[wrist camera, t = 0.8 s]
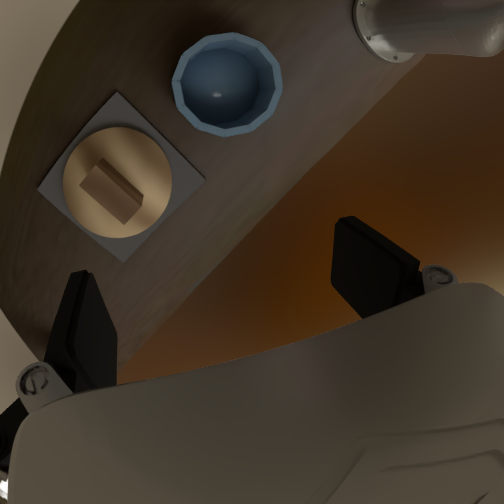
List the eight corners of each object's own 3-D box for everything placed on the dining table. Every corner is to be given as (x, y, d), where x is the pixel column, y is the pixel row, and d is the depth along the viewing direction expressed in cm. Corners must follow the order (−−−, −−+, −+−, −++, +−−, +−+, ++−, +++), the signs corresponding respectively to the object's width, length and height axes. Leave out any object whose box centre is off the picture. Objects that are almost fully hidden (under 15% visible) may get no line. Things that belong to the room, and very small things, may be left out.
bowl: (225, 27, 28) (237, 14, 22) (279, 92, 34) (301, 92, 28) (153, 84, 29) (150, 81, 24) (213, 146, 35) (222, 156, 30)
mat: (117, 91, 28) (117, 91, 28) (205, 179, 37) (206, 180, 36) (38, 188, 31) (37, 189, 30) (123, 260, 39) (123, 262, 39)
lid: (116, 103, 29) (108, 103, 24) (194, 180, 36) (199, 192, 32) (46, 189, 30) (31, 202, 26) (122, 253, 38) (118, 274, 34)
